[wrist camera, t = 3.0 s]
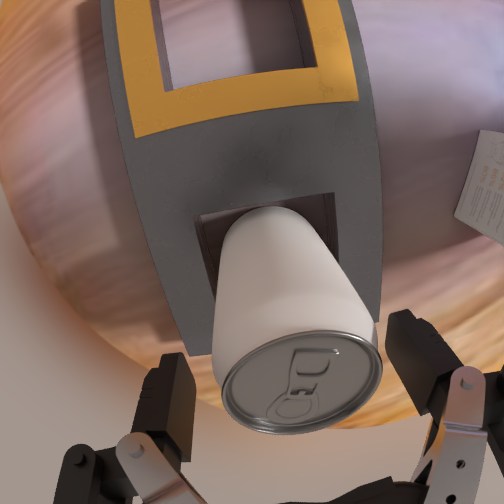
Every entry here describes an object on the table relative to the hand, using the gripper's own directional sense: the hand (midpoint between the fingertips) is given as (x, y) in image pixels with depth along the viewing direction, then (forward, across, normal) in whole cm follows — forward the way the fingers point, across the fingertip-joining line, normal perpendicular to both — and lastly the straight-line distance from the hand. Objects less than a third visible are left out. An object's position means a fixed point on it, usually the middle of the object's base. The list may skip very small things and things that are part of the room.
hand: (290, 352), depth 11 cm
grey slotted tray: (+10, 0, -7) cm, 12 cm away
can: (+10, 0, 0) cm, 10 cm away
